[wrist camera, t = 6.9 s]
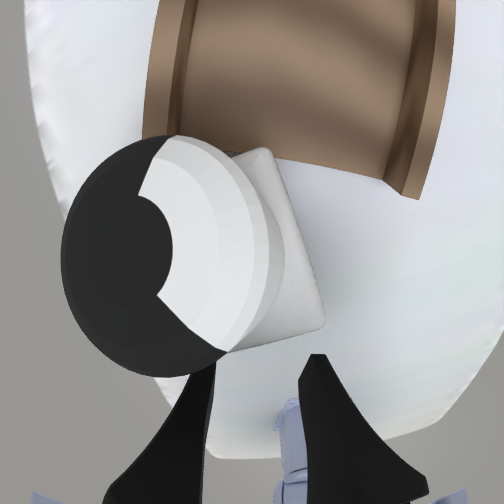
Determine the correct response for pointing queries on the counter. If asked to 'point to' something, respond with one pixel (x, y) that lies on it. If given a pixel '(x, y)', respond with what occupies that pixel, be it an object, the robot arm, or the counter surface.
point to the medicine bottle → (186, 257)
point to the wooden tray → (306, 80)
